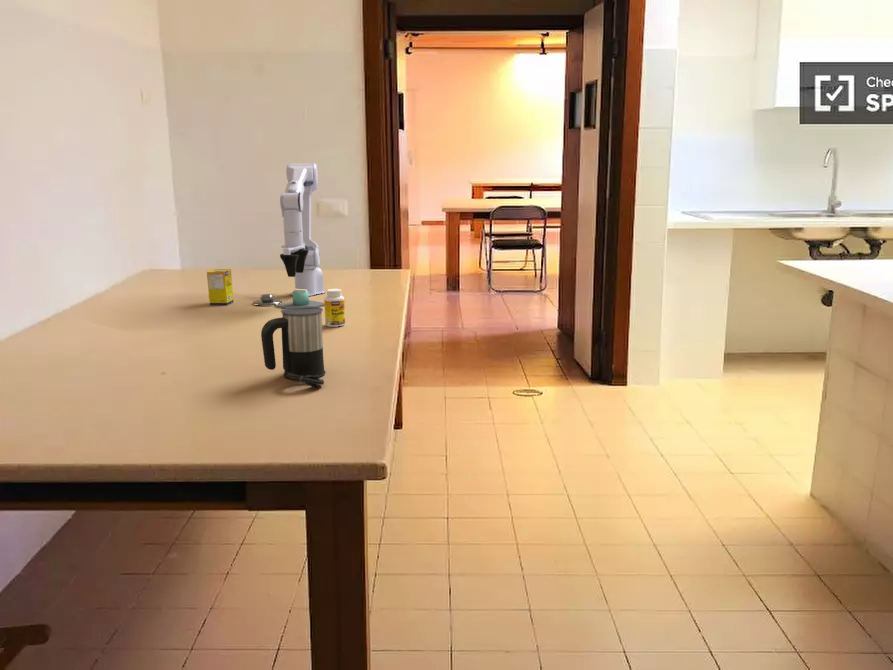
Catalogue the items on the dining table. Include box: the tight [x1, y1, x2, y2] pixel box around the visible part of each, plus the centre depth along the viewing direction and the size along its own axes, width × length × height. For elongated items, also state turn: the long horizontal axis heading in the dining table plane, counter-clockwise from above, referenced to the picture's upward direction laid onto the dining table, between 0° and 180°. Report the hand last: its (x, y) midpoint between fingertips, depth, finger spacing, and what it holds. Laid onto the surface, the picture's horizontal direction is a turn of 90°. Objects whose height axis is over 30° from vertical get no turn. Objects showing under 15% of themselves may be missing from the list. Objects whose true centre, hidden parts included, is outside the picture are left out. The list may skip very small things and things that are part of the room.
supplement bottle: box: [323, 288, 346, 328], centre depth 224 cm, size 6×6×10 cm
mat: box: [273, 299, 325, 309], centre depth 253 cm, size 12×12×1 cm
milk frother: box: [260, 306, 326, 388], centre depth 172 cm, size 14×16×15 cm
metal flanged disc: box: [252, 293, 283, 305], centre depth 257 cm, size 9×9×3 cm
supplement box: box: [206, 268, 235, 306], centre depth 257 cm, size 6×6×11 cm
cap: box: [292, 288, 310, 306], centre depth 252 cm, size 5×5×5 cm
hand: (295, 274), depth 252 cm, fingers open, 7 cm apart
